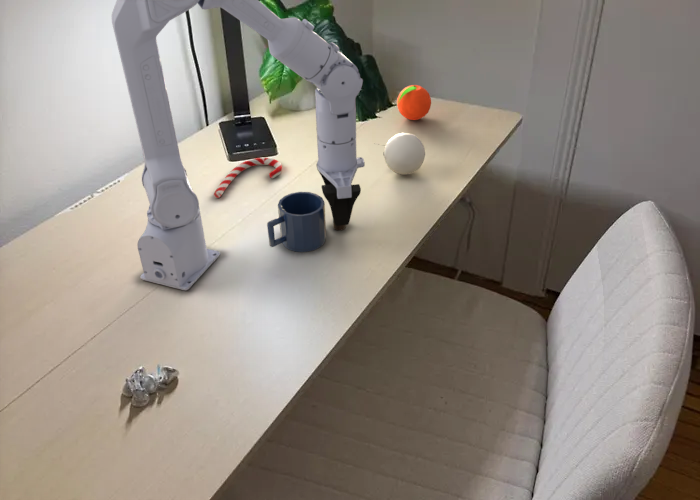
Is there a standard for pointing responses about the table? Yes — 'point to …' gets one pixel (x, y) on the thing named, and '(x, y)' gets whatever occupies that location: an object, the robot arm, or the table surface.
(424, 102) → the clementine
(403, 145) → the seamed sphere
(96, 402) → the table surface
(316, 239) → the mug
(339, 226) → the stick
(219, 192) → the candy cane
